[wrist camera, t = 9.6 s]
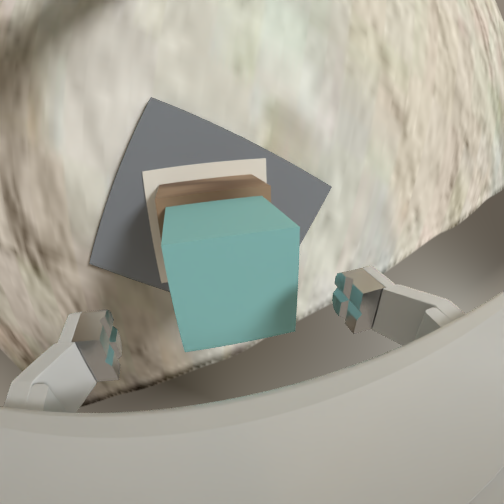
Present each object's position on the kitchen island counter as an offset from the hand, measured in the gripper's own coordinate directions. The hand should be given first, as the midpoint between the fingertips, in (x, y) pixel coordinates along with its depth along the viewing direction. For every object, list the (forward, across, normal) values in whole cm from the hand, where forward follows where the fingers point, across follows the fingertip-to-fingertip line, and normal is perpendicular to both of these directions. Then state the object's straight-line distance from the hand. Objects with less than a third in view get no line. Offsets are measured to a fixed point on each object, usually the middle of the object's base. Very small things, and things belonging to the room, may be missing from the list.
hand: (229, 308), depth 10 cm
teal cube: (+6, -1, 0) cm, 6 cm away
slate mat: (+11, -1, +1) cm, 11 cm away
